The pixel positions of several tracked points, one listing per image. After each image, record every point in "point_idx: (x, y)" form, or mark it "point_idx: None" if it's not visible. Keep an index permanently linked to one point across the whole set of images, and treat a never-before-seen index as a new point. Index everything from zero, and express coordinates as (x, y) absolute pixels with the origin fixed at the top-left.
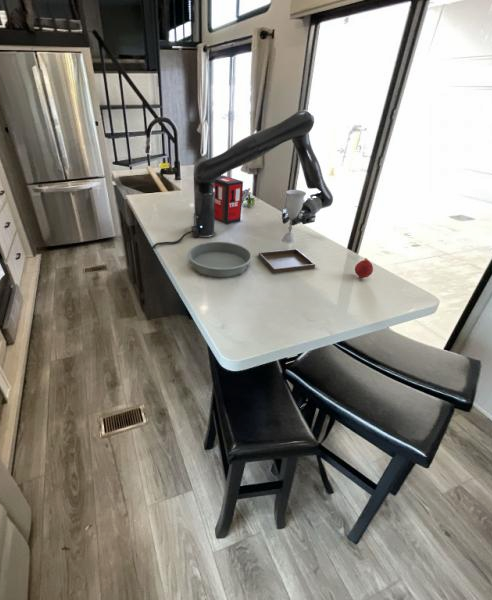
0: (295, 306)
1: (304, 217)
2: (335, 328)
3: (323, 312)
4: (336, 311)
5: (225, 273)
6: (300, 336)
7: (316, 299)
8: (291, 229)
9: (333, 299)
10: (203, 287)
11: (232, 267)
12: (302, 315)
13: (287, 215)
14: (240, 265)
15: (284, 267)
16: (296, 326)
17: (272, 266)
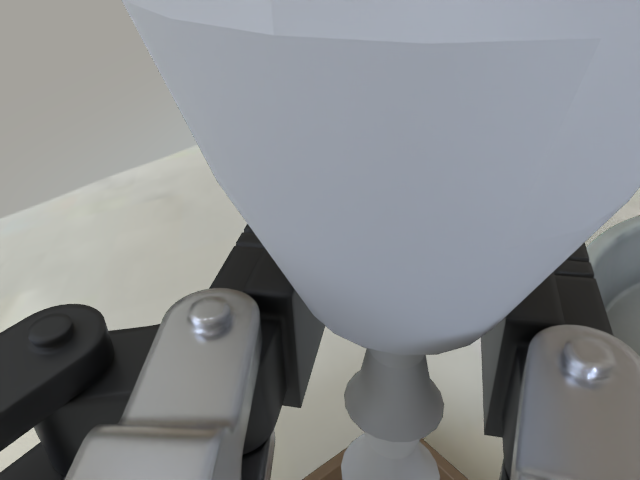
0: (215, 232)
1: (65, 317)
2: (80, 193)
3: (102, 236)
4: (43, 254)
5: (626, 268)
6: (196, 152)
7: (115, 291)
8: (356, 450)
9: (23, 317)
10: (622, 212)
11: (603, 241)
12: (187, 206)
13: (554, 299)
14: None
15: (327, 469)
16: (208, 171)
17: (425, 446)
